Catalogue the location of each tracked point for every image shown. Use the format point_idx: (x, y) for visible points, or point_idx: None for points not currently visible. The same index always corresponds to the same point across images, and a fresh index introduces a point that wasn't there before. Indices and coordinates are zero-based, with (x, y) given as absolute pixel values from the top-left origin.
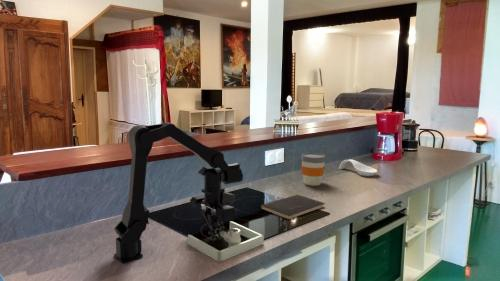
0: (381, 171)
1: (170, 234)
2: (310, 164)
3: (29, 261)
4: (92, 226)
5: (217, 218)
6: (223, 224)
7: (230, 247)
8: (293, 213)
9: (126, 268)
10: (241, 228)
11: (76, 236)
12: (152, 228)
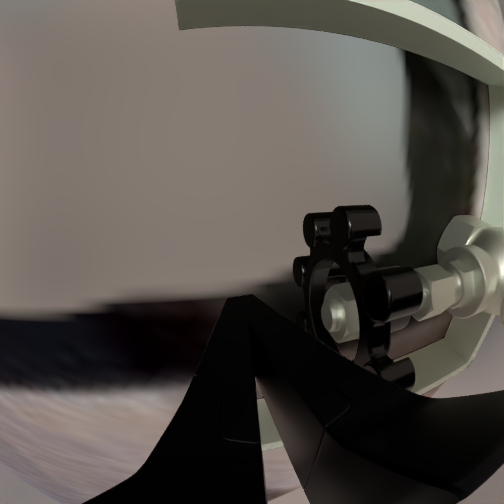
0: None
1: (80, 420)
2: None
3: None
4: (10, 467)
5: (371, 395)
6: (407, 271)
7: (492, 315)
8: None
9: (269, 491)
10: (396, 22)
11: (61, 493)
12: (13, 423)
